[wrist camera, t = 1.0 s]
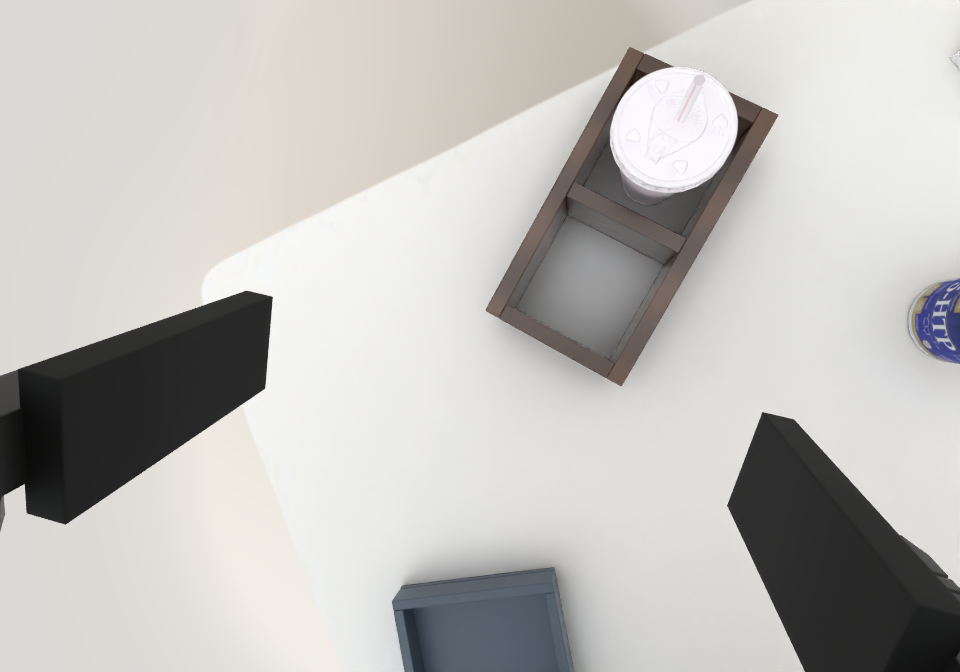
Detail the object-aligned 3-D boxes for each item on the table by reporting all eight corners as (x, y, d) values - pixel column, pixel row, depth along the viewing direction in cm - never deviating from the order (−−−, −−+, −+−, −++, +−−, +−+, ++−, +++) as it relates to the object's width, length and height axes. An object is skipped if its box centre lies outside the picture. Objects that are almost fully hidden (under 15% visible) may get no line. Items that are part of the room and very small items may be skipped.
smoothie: (718, 164, 38) (800, 66, 24) (660, 243, 38) (708, 191, 25) (638, 113, 39) (674, -9, 25) (583, 191, 39) (588, 114, 25)
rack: (615, 379, 39) (621, 386, 33) (496, 313, 40) (484, 310, 35) (749, 146, 37) (778, 114, 32) (621, 86, 39) (629, 46, 33)
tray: (584, 728, 39) (585, 754, 37) (430, 739, 41) (421, 764, 39) (554, 566, 40) (552, 582, 37) (402, 585, 42) (391, 601, 39)
